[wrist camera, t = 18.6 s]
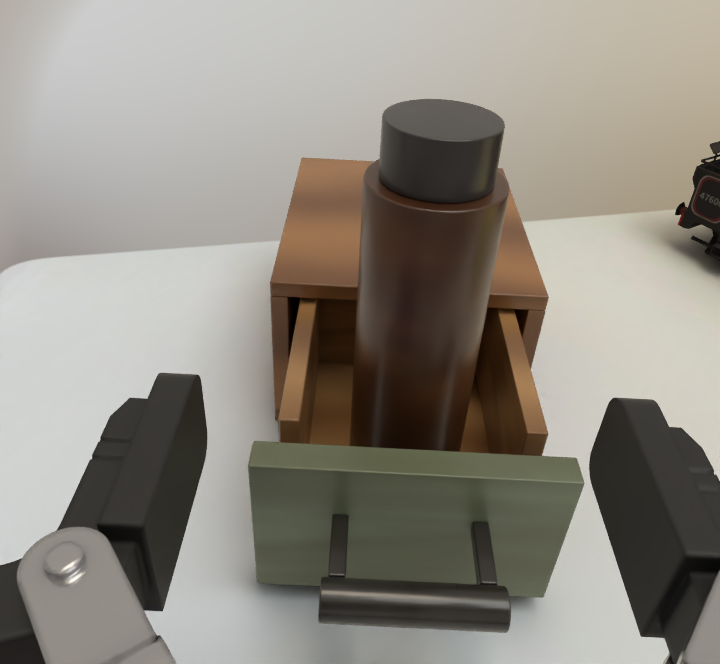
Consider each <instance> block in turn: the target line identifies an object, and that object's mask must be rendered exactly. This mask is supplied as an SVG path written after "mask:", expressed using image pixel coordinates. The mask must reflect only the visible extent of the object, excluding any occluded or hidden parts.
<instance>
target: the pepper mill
mask: <svg viewBox="0 0 720 664" xmlns="http://www.w3.org/2000/svg"><path fill="white" fill-rule="evenodd" d="M504 128H505V124H504V121H503V120H502V118H501V117H500V116H498V115H497V114H495V113H494V112H492V111H490V110H487V109H485V108H482V107H480V106H476V105H473V104H469V103H464V102H459V101H452V100H441V99H420V100H410V101H405V102H400V103H397V104H394V105H392V106H390V107H388V108H387V109H386V110H385V111H384V113H383V116H382V129H381V145H380V159H378V160H376V161H375V162H373V163H372V164H370V165H369V166H368V167H367V169H366V170H365V172H364V175H363V190H362V209H361V229H360V249H359V268H358V288H357V308H356V327H355V347H354V367H353V386H352V406H351V426H350V445H349V446H358V447H377V448H396V449H415V450H434V451H453V452H460V449H461V444H462V438H463V433H464V428H465V423H466V417H467V412H468V407H469V401H470V396H471V391H472V386H473V380H474V375H475V370H476V365H477V359H478V354H479V349H480V344H481V338H482V333H483V328H484V323H485V317H486V312H487V307H488V302H489V296H490V291H491V286H492V281H493V275H494V270H495V265H496V259H497V254H498V249H499V244H500V238H501V233H502V228H503V223H504V217H505V212H506V207H507V202H508V196H509V190H510V188H509V184H508V181H507V179H506V178H505V177H504V176H503V175H502V174H501V173H500V172H499V171H497V168H498V163H499V157H500V151H501V145H502V140H503V133H504Z"/></svg>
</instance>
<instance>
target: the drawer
mask: <svg viewBox="0 0 720 664" xmlns="http://www.w3.org/2000/svg"><path fill="white" fill-rule="evenodd" d="M356 308H357V301H356V300H337V299H318V298H300V302H299V308H298V313H297V319H296V324H295V330H294V335H293V341H292V346H291V352H290V358H289V363H288V369H287V374H286V380H285V385H284V391H283V397H282V402H281V408H280V413H279V419H278V424H279V442H262V441H254V442H253V445H252V450H251V455H250V459H249V464H248V471H249V484H250V497H251V510H252V522H253V535H254V548H255V561H256V574H257V582H258V583H268V584H288V585H307V586H320V595H319V612H318V621H319V623H323V624H342V625H362V626H381V627H401V628H420V629H440V630H459V631H479V632H498V633H506V632H508V630H509V627H510V621H511V604H510V596H521V597H541V598H542V597H544V594H545V591H546V589H547V586H548V583H549V580H550V578H551V575H552V572H553V569H554V566H555V564H556V561H557V558H558V555H559V553H560V550H561V547H562V544H563V541H564V539H565V536H566V533H567V530H568V528H569V525H570V522H571V519H572V517H573V514H574V511H575V508H576V505H577V503H578V500H579V497H580V494H581V492H582V489H583V486H584V480H583V477H582V474H581V471H580V467H579V464H578V461H577V459H576V458H568V457H549V456H542V453H543V450H544V446H545V443H546V440H547V436H548V431H547V428H546V424H545V420H544V417H543V413H542V409H541V406H540V402H539V398H538V395H537V391H536V388H535V384H534V380H533V377H532V373H531V369H530V366H529V362H528V358H527V355H526V351H525V347H524V344H523V340H522V337H521V333H520V329H519V326H518V322H517V318H516V315H515V311H514V309H506V308H487V312H486V317H485V323H484V328H483V333H482V338H481V344H480V349H479V354H478V359H477V365H476V370H475V375H474V380H473V386H472V391H471V396H470V401H469V407H468V412H467V417H466V423H465V428H464V433H463V438H462V444H461V449H460V452H453V451H434V450H415V449H396V448H377V447H358V446H349V445H350V426H351V406H352V386H353V367H354V347H355V327H356Z"/></svg>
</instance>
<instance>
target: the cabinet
mask: <svg viewBox="0 0 720 664" xmlns="http://www.w3.org/2000/svg"><path fill="white" fill-rule="evenodd" d="M372 163H373V162H372V161H353V160H335V159H317V158H302V159H301V163H300V166H299V171H298V175H297V178H296V182H295V186H294V190H293V195H292V198H291V202H290V206H289V210H288V214H287V218H286V222H285V226H284V230H283V234H282V238H281V242H280V246H279V249H278V253H277V257H276V261H275V265H274V269H273V273H272V277H271V281H270V293H271V321H272V346H273V371H274V396H275V419H276V420H278V419H279V413H280V408H281V402H282V397H283V391H284V385H285V380H286V374H287V369H288V363H289V358H290V352H291V346H292V341H293V335H294V330H295V324H296V319H297V313H298V308H299V302H300V298H318V299H337V300H356V301H357V288H358V268H359V249H360V229H361V209H362V190H363V175H364V172H365V170H366V169H367V167H368V166H369V165H370V164H372ZM497 171H499V172H500V173H501V174H502V175H503V176H504V177H505V178H506V176H505V173H504V171H503V169H502V168H501V169H500V168H497ZM509 188H510V187H509ZM548 298H549V297H548V294H547V291H546V289H545V286H544V283H543V280H542V277H541V274H540V272H539V269H538V266H537V263H536V260H535V258H534V255H533V252H532V249H531V246H530V244H529V241H528V238H527V235H526V232H525V230H524V227H523V224H522V221H521V218H520V216H519V213H518V210H517V207H516V204H515V202H514V199H513V196H512V194H511V190H509V196H508V202H507V207H506V212H505V217H504V223H503V228H502V233H501V238H500V244H499V249H498V254H497V259H496V265H495V270H494V275H493V281H492V286H491V291H490V296H489V302H488V307H487V308H506V309H514V311H515V315H516V318H517V322H518V326H519V329H520V333H521V337H522V340H523V344H524V347H525V351H526V355H527V358H528V362H529V366H530V369H531V366H532V362H533V358H534V354H535V350H536V346H537V342H538V338H539V334H540V330H541V326H542V323H543V319H544V315H545V309H546V306H547V302H548Z"/></svg>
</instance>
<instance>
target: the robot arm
mask: <svg viewBox="0 0 720 664" xmlns="http://www.w3.org/2000/svg"><path fill="white" fill-rule="evenodd" d="M100 438H101V440H100V442H98V444H97V446H96V448H95V450H94V453H93V455H92V460H90V461H89V463H88V466H87V468H86V470H85V472H84V474H83V476H82V479H81V481H80V483H79V485H78V487H77V489H76V492H75V494H74V496H73V498H72V500H71V502H70V505H69V507H68V509H67V511H66V513H65V515H64V517H63V520H62V522H61V524H60V526H59V527H58V529H57V531H55V532H52V533H50V534H49V535H47V536H45V537H43V538H42V539H40V540H39V541H37V542H36V543H35V544H34V545H33V546H32V547H31V548H30V549H29V550H28V551H27V552H26V554H25V555H24V557H23V558H22V559H19V560H17V561H14V562H11V563H8V564H4V565H0V664H176V662H175V660H174V658H173V657H172V655H171V653H170V651H169V649H168V647H167V645H166V643H165V642H164V640H163V639H162V637H161V636H160V635H159V636H157V635H156V634H155V632H154V630H153V628H152V626H151V624H150V622H149V620H148V618H147V616H146V614H145V612H144V610H149V611H163V609H164V605H165V601H166V598H167V594H168V591H169V587H170V583H171V580H172V576H173V573H174V569H175V566H176V562H177V558H178V555H179V551H180V548H181V544H182V541H183V537H184V533H185V530H186V526H187V523H188V519H189V515H190V512H191V508H192V505H193V501H194V498H195V494H196V490H197V487H198V483H199V480H200V476H201V473H202V469H203V465H204V461H205V457H206V449H207V426H206V418H205V410H204V401H203V393H202V385H201V379H200V377H199V375H192V374H173V373H159V374H158V376H157V378H156V380H155V382H154V385H153V387H152V389H151V392H150V394H149V397H148V399H141V398H129V399H128V400H127V401H126V402H125V403H124V404H123V405H122V406H121V407H120V408H119V409H118V410H116V411H115V412H114V413H113V414H112V415H111V416H110V418H109V420H108V422H107V424H106V427H105V429H104V431H103V433H102V435H101V437H100ZM589 470H590V479H591V484H592V487H593V490H594V493H595V496H596V499H597V502H598V505H599V509H600V512H601V515H602V518H603V521H604V524H605V527H606V530H607V533H608V536H609V539H610V542H611V546H612V549H613V552H614V555H615V558H616V561H617V564H618V567H619V570H620V573H621V576H622V579H623V583H624V586H625V589H626V592H627V595H628V598H629V601H630V604H631V607H632V610H633V613H634V616H635V620H636V623H637V626H638V629H639V632H640V635H641V637H659V638H665V641H666V644H667V646H668V649H669V654H668V656H667V657H666V659H665V661H664V663H663V664H720V481H719V479H718V477H717V475H714V470H713V468H712V466H711V464H710V462H709V460H708V458H707V456H706V454H705V452H704V451H703V449H702V447H701V446H700V445H698V444H697V443H696V442H695V441H694V440H693V439H692V438H691V437H690V436H689V435H688V434H687V433H686V432H685V431H684V430H683V429H682V428H676V427H669V426H668V424H667V422H666V420H665V418H664V416H663V414H662V411H661V409H660V407H659V406H658V404H657V403H656V402H655V401H654V400H648V399H629V398H613V399H612V400H611V401H610V402H609V404H608V407H607V409H606V412H605V415H604V418H603V421H602V423H601V426H600V429H599V432H598V434H597V437H596V440H595V443H594V446H593V448H592V451H591V455H590V464H589Z"/></svg>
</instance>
